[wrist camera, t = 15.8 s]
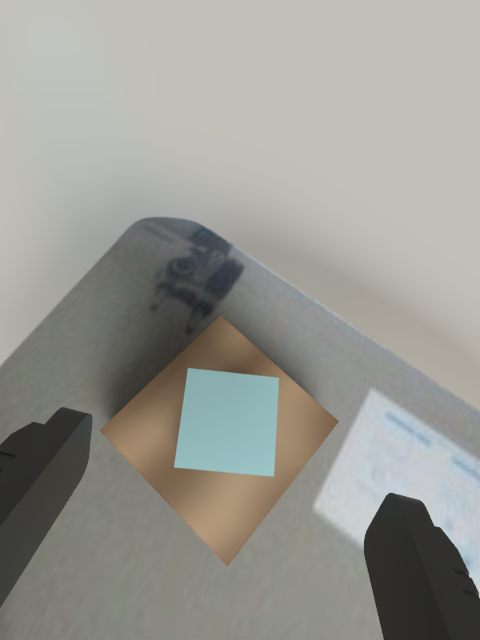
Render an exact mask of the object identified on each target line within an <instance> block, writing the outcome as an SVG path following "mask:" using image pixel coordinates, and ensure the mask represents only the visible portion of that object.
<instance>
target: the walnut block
mask: <svg viewBox="0 0 480 640" xmlns="http://www.w3.org/2000/svg"><path fill="white" fill-rule="evenodd" d="M188 368H192V369H201V370H211V371H220V372H230V373H239V374H248V375H258V376H267V377H277V378H279V390H278V409H277V428H276V448H275V467H274V477H272V476H261V475H250V474H240V473H229V472H218V471H207V470H196V469H185V468H174V464H175V457H176V449H177V442H178V435H179V428H180V421H181V414H182V407H183V400H184V393H185V386H186V379H187V372H188ZM338 422H339V421H338V420H336V419H335V418H334V417H333V416H332V415H331V414H330V413H329V412H328V411H327V410H325V409H324V408H323V407H322V406H321V405H320V404H319V403H318V402H317V401H315V400H314V399H313V398H312V397H311V396H310V395H309V394H308V393H307V392H305V391H304V390H303V389H302V388H301V387H300V386H299V385H298V384H297V383H296V382H294V381H293V380H292V379H291V378H290V377H289V376H288V375H287V374H286V373H284V372H283V371H282V370H281V369H280V368H279V367H278V366H277V365H276V364H275V363H273V362H272V361H271V360H270V359H269V358H268V357H267V356H266V355H265V354H263V353H262V352H261V351H260V350H259V349H258V348H257V347H256V346H255V345H253V344H252V343H251V342H250V341H249V340H248V339H247V338H246V337H245V336H244V335H242V334H241V333H240V332H239V331H238V330H237V329H236V328H235V327H234V326H232V325H231V324H230V323H229V322H228V321H227V320H226V319H225V318H224V317H223V316H221V315H220V316H219V317H218V318H217V319H216V320H215V321H214V322H213V323H212V324H210V325H209V326H208V327H207V328H206V329H205V330H204V331H203V332H202V333H201V334H200V335H199V336H198V337H197V338H196V339H195V340H194V341H193V342H192V343H191V344H190V345H189V346H187V347H186V348H185V349H184V350H183V351H182V352H181V353H180V354H179V355H178V356H177V357H176V358H175V359H174V360H173V361H172V362H171V363H170V364H169V365H168V366H167V367H165V368H164V369H163V370H162V371H161V372H160V373H159V374H158V375H157V376H156V377H155V378H154V379H153V380H152V381H151V382H150V383H149V384H148V385H147V386H146V387H145V388H143V389H142V390H141V391H140V392H139V393H138V394H137V395H136V396H135V397H134V398H133V399H132V400H131V401H130V402H129V403H128V404H127V405H126V406H125V407H124V408H123V409H121V410H120V411H119V412H118V413H117V414H116V415H115V416H114V417H113V418H112V419H111V420H110V421H109V422H108V423H107V424H106V425H105V426H104V427H103V428H102V429H101V430H100V431H101V432H102V433H103V435H104V436H105V437H106V438H107V439H108V440H109V441H110V442H111V443H112V444H113V445H114V446H115V447H116V448H117V449H118V450H119V452H120V453H121V454H122V455H123V456H124V457H125V458H126V459H127V460H128V461H129V462H130V463H131V464H132V465H133V466H134V468H135V469H136V470H137V471H138V472H139V473H140V474H141V475H142V476H143V477H144V478H145V479H146V480H147V481H148V482H149V484H150V485H151V486H152V487H153V488H154V489H155V490H156V491H157V492H158V493H159V494H160V495H161V496H162V497H163V498H164V500H165V501H166V502H167V503H168V504H169V505H170V506H171V507H172V508H173V509H174V510H175V511H176V512H177V513H178V514H179V515H180V517H181V518H182V519H183V520H184V521H185V522H186V523H187V524H188V525H189V526H190V527H191V528H192V529H193V530H194V531H195V533H196V534H197V535H198V536H199V537H200V538H201V539H202V540H203V541H204V542H205V543H206V544H207V545H208V546H209V547H210V549H211V550H212V551H213V552H214V553H215V554H216V555H217V556H218V557H219V558H220V559H221V560H222V561H223V562H224V563H225V565H226V566H228V565H229V564H230V562H231V561H232V560H233V559H234V557H235V556H236V555H237V553H238V552H239V551H240V549H241V548H242V547H243V545H244V544H245V543H246V542H247V540H248V539H249V538H250V536H251V535H252V534H253V532H254V531H255V530H256V529H257V527H258V526H259V525H260V523H261V522H262V521H263V519H264V518H265V517H266V516H267V514H268V513H269V512H270V510H271V509H272V508H273V506H274V505H275V504H276V502H277V501H278V500H279V499H280V497H281V496H282V495H283V493H284V492H285V491H286V489H287V488H288V487H289V486H290V484H291V483H292V482H293V480H294V479H295V478H296V476H297V475H298V474H299V472H300V471H301V470H302V469H303V467H304V466H305V465H306V463H307V462H308V461H309V459H310V458H311V457H312V456H313V454H314V453H315V452H316V450H317V449H318V448H319V446H320V445H321V444H322V443H323V441H324V440H325V439H326V437H327V436H328V435H329V433H330V432H331V431H332V429H333V428H334V427H335V426H336V424H337V423H338Z"/></svg>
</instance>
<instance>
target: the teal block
mask: <svg viewBox="0 0 480 640" xmlns="http://www.w3.org/2000/svg"><path fill="white" fill-rule="evenodd" d="M278 390H279V378H277V377H267V376H258V375H248V374H239V373H230V372H220V371H211V370H201V369H192V368H188V372H187V379H186V386H185V393H184V400H183V407H182V414H181V421H180V428H179V435H178V442H177V449H176V457H175V464H174V468H185V469H196V470H207V471H218V472H229V473H240V474H250V475H261V476H272V477H274V467H275V448H276V428H277V409H278Z"/></svg>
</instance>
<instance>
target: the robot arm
mask: <svg viewBox="0 0 480 640" xmlns="http://www.w3.org/2000/svg"><path fill="white" fill-rule="evenodd" d="M91 429H92V415H91V414H88V413H84V412H80V411H76V410H72V409H68V408H64V407H62V408H60V409H59V410H58V411H57V412H56V413H55V414H54V415H53V416H52V417H51V418H50V419H49V420H48V421H47V422H46V424H45V425H44V424H40V423H36V422H33V423H31V424H29V425H27V426H25V427H23V428H21V429H19V430H18V431H16V432H14V433H12V434H11V435H10V436H9V437H8V438H7V439H6V440H5V441H4V442H3V443H2V444H1V445H0V607H1V606H2V604H3V602H4V601H5V599H6V598H7V596H8V594H9V593H10V591H11V590H12V588H13V587H14V585H15V583H16V582H17V580H18V579H19V577H20V575H21V574H22V572H23V571H24V569H25V568H26V566H27V564H28V563H29V561H30V560H31V558H32V557H33V555H34V553H35V552H36V550H37V549H38V547H39V545H40V544H41V542H42V541H43V539H44V538H45V536H46V534H47V533H48V531H49V530H50V528H51V526H52V525H53V523H54V522H55V520H56V519H57V517H58V515H59V514H60V512H61V511H62V509H63V507H64V506H65V504H66V503H67V501H68V500H69V498H70V496H71V495H72V493H73V492H74V490H75V489H76V487H77V485H78V484H79V482H80V480H81V478H82V476H83V474H84V472H85V469H86V466H87V463H88V459H89V450H90V440H91ZM364 555H365V560H366V564H367V569H368V573H369V577H370V582H371V586H372V590H373V594H374V599H375V603H376V607H377V612H378V616H379V620H380V625H381V629H382V633H383V637H384V640H480V598H479V593H478V590H477V588H476V586H475V584H474V582H473V580H472V578H469V572H468V570H467V568H466V566H465V564H464V561H463V559H462V557H461V555H460V553H459V551H458V549H457V548H456V547H455V546H454V544H453V543H452V542H451V541H450V539H449V538H448V537H447V535H446V534H445V533H444V532H443V530H442V529H441V528H440V527H436V526H434V524H433V522H432V520H431V518H430V515H429V513H428V511H427V509H426V507H425V505H424V504H423V502H422V501H420V500H417V499H413V498H410V497H406V496H402V495H398V494H394V493H389V494H388V495H387V496H386V497H385V499H384V501H383V502H382V504H381V506H380V508H379V509H378V511H377V513H376V515H375V516H374V518H373V520H372V522H371V524H370V525H369V527H368V529H367V531H366V534H365V539H364Z"/></svg>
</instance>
